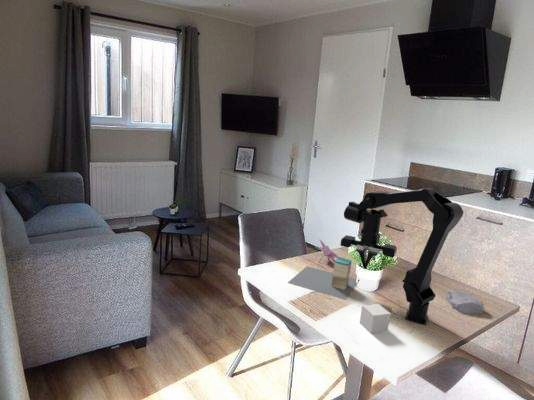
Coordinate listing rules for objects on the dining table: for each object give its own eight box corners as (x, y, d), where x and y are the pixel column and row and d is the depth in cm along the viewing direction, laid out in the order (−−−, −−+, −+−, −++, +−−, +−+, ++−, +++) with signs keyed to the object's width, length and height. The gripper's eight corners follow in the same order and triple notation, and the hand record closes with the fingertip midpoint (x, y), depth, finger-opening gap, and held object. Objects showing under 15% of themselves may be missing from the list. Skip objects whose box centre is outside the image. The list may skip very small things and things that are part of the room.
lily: (337, 272, 161) (347, 251, 162) (312, 259, 160) (322, 238, 161) (329, 269, 172) (338, 250, 174) (305, 257, 172) (315, 238, 173)
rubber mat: (345, 300, 134) (345, 299, 134) (287, 283, 143) (287, 282, 143) (359, 280, 151) (359, 279, 151) (306, 267, 161) (306, 266, 161)
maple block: (344, 289, 141) (348, 264, 139) (331, 286, 143) (334, 260, 141) (348, 285, 146) (351, 259, 144) (335, 281, 148) (338, 256, 146)
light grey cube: (359, 323, 120) (362, 305, 119) (375, 321, 122) (378, 303, 121) (370, 334, 114) (373, 315, 113) (387, 331, 117) (390, 313, 115)
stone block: (457, 318, 133) (486, 314, 133) (456, 305, 132) (486, 301, 132) (441, 302, 145) (468, 299, 144) (441, 290, 144) (468, 287, 144)
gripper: (402, 227, 139) (395, 267, 142) (350, 217, 147) (345, 256, 150) (397, 234, 129) (390, 278, 133) (342, 223, 137) (337, 264, 140)
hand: (365, 268), depth 139 cm, fingers closed
